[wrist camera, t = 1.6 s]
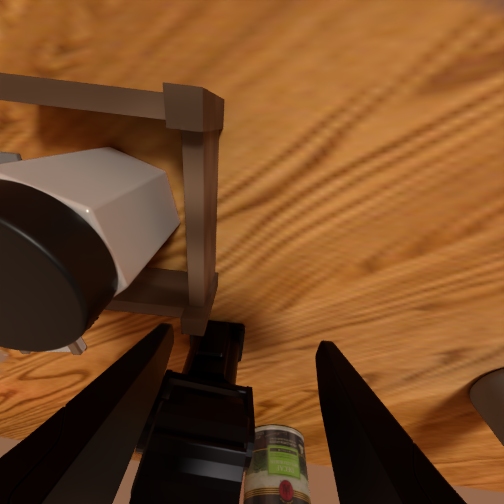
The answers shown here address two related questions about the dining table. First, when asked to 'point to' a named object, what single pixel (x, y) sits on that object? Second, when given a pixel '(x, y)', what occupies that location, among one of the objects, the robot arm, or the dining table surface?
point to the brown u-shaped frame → (195, 184)
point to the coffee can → (277, 468)
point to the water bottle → (490, 401)
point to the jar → (74, 240)
